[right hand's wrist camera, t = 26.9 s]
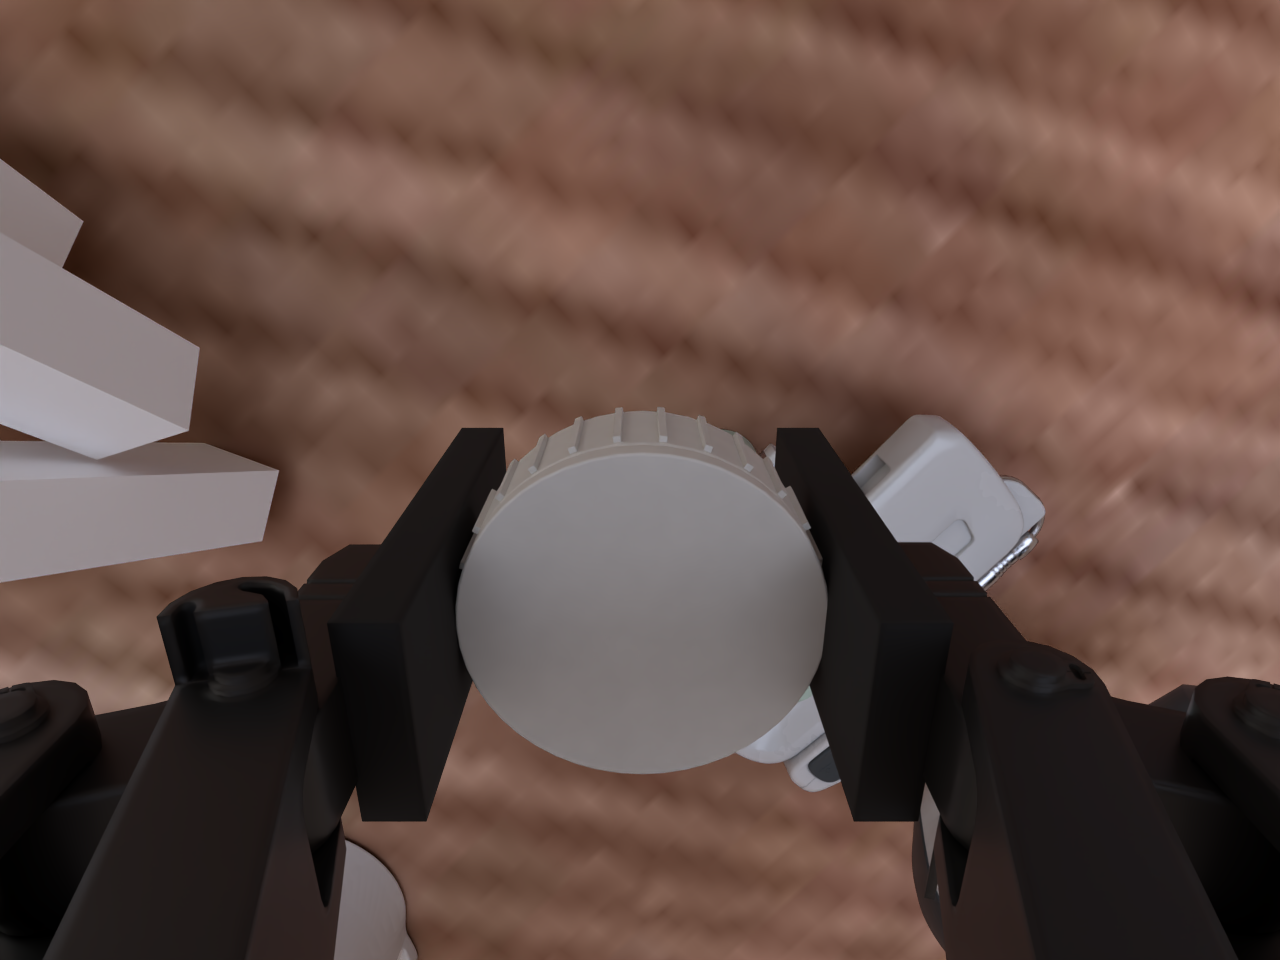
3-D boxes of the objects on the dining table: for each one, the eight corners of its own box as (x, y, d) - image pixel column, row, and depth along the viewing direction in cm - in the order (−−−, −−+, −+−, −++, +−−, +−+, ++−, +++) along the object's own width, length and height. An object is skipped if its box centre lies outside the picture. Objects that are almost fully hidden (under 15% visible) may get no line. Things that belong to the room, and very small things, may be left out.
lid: (868, 481, 12) (908, 536, 10) (722, 736, 13) (734, 821, 12) (543, 349, 11) (525, 383, 9) (434, 638, 13) (402, 713, 11)
